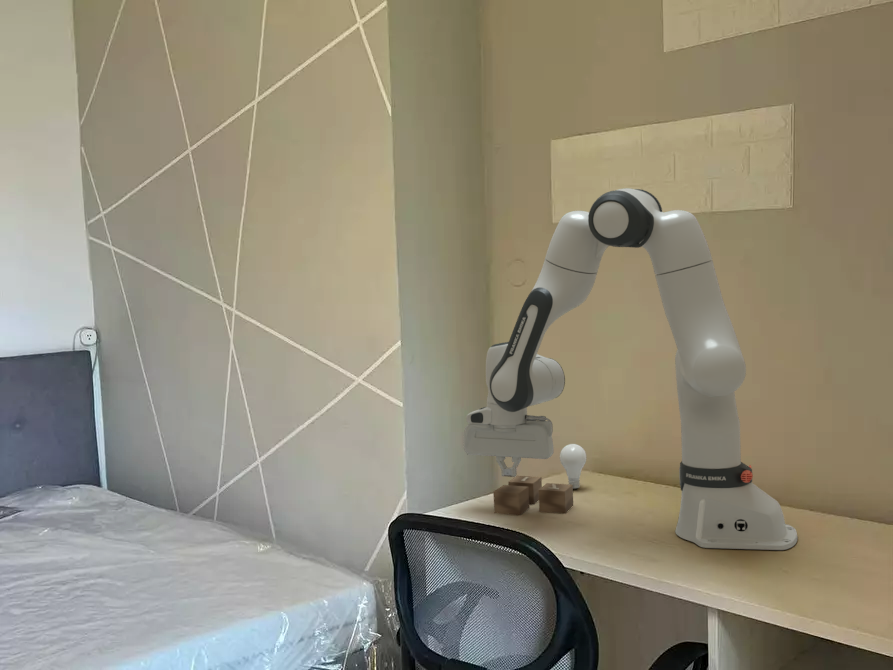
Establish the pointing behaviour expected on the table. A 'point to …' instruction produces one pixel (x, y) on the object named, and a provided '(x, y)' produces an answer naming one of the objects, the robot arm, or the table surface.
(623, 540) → the table surface
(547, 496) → the numbered block 7
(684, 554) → the table surface
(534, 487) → the numbered block 1
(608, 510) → the table surface
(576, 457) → the lightbulb
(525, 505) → the plain block
